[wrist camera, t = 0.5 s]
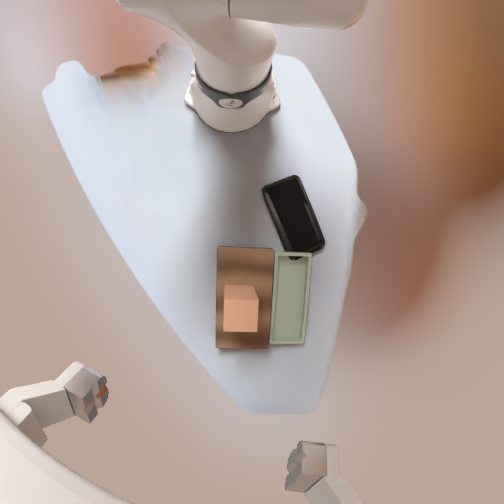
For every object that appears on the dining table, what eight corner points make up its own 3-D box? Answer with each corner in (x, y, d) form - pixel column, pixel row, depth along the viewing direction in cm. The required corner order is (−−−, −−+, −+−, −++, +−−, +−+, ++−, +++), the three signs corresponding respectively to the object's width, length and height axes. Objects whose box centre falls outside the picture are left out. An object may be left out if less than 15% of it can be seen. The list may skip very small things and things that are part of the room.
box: (273, 251, 53) (274, 252, 51) (309, 252, 53) (311, 253, 51) (267, 340, 54) (269, 344, 52) (301, 339, 55) (303, 343, 53)
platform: (218, 246, 52) (217, 247, 49) (271, 248, 53) (274, 249, 50) (216, 341, 54) (215, 347, 51) (266, 342, 54) (268, 348, 51)
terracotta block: (224, 284, 50) (224, 299, 40) (253, 285, 50) (258, 300, 40) (224, 311, 50) (223, 331, 40) (251, 311, 50) (257, 332, 40)
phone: (290, 262, 52) (260, 187, 51) (289, 261, 54) (259, 188, 52) (327, 246, 53) (298, 173, 51) (325, 245, 54) (297, 174, 52)
